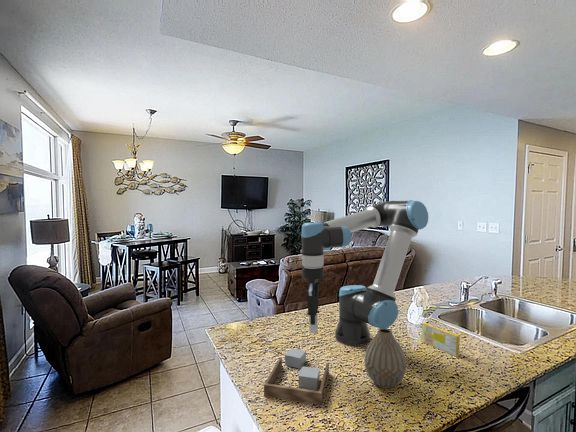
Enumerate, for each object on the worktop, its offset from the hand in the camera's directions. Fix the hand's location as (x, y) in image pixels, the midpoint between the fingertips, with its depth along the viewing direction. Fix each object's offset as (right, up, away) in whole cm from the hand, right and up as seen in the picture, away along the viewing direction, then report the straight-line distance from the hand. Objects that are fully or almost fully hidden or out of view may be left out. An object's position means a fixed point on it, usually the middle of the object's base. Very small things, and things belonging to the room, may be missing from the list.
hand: (313, 332), depth 110 cm
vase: (+23, -14, -7) cm, 28 cm away
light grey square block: (-2, -14, -8) cm, 16 cm away
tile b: (-6, -14, +5) cm, 16 cm away
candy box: (+53, -13, +17) cm, 57 cm away
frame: (-6, -14, -8) cm, 17 cm away
